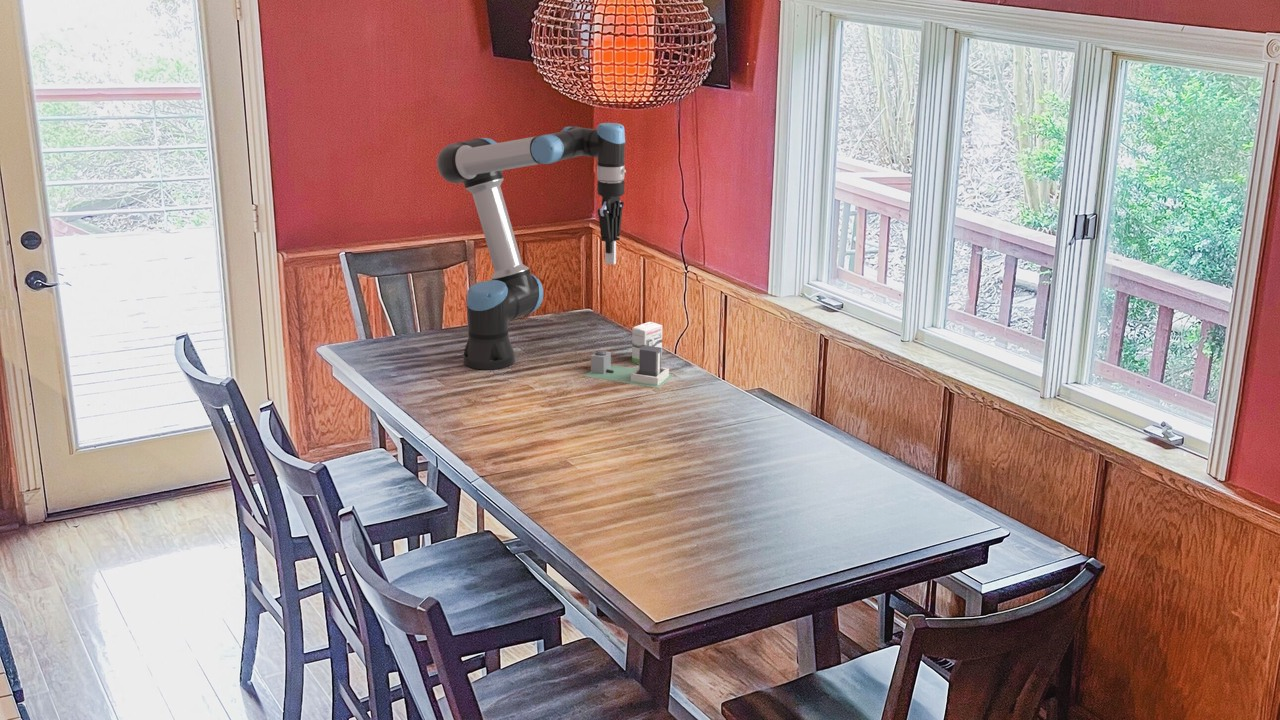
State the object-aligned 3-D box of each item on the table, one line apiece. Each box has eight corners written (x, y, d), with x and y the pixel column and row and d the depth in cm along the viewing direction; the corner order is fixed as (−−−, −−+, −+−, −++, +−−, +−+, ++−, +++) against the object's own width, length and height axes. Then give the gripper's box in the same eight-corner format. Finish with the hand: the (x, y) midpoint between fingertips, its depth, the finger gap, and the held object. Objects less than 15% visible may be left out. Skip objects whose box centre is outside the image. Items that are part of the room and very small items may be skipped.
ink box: (644, 369, 364) (644, 330, 360) (631, 365, 367) (631, 327, 363) (662, 362, 370) (663, 324, 366) (649, 358, 373) (650, 320, 369)
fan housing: (590, 371, 358) (590, 353, 356) (598, 366, 362) (598, 348, 360) (610, 375, 355) (610, 356, 354) (617, 369, 360) (617, 351, 358)
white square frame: (630, 381, 351) (630, 374, 350) (643, 371, 359) (643, 364, 358) (657, 385, 348) (657, 378, 347) (669, 375, 356) (669, 368, 355)
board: (583, 380, 355) (583, 376, 354) (601, 367, 365) (601, 363, 365) (658, 392, 346) (658, 388, 346) (674, 378, 357) (674, 374, 356)
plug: (639, 379, 352) (639, 349, 349) (644, 375, 356) (645, 345, 353) (655, 382, 350) (656, 351, 347) (661, 377, 354) (661, 347, 351)
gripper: (613, 185, 336) (613, 270, 344) (632, 177, 347) (631, 259, 355) (588, 183, 339) (588, 267, 347) (608, 175, 350) (607, 256, 358)
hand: (610, 263), depth 351 cm, fingers closed
